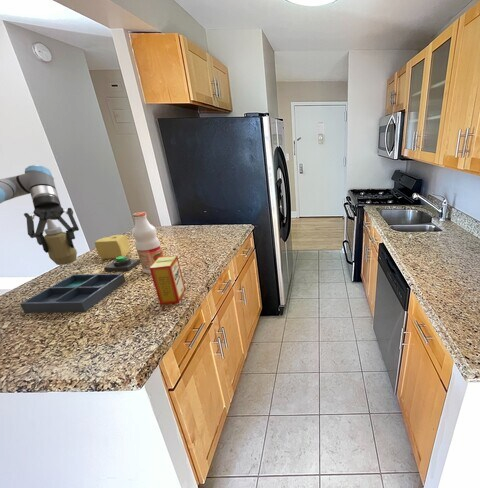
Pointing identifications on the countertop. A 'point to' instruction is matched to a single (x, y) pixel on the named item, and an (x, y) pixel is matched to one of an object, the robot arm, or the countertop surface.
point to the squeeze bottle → (58, 245)
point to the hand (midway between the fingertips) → (59, 248)
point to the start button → (120, 258)
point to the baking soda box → (168, 279)
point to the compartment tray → (74, 293)
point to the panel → (122, 265)
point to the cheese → (112, 246)
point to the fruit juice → (146, 241)
